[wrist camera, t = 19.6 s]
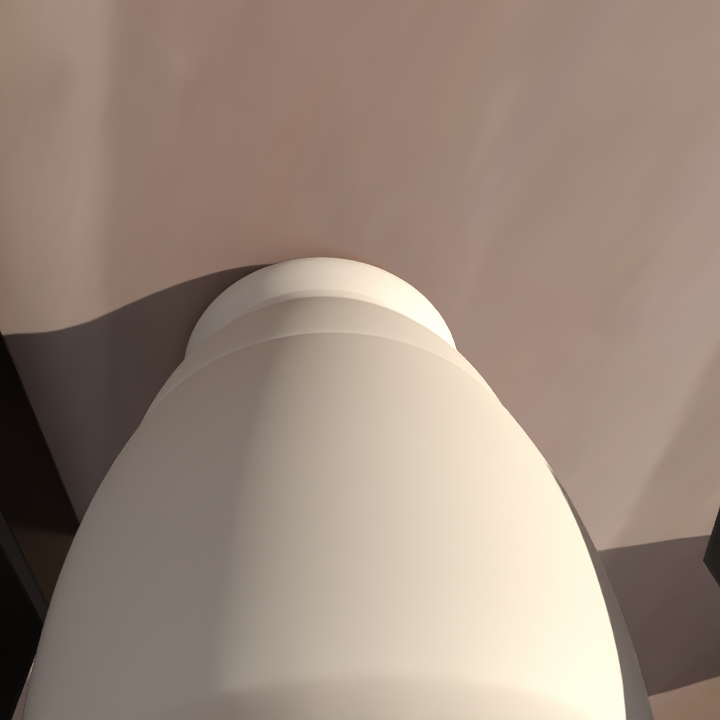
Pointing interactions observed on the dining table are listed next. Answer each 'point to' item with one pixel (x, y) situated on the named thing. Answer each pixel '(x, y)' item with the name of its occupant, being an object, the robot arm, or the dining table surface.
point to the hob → (30, 494)
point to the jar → (331, 534)
